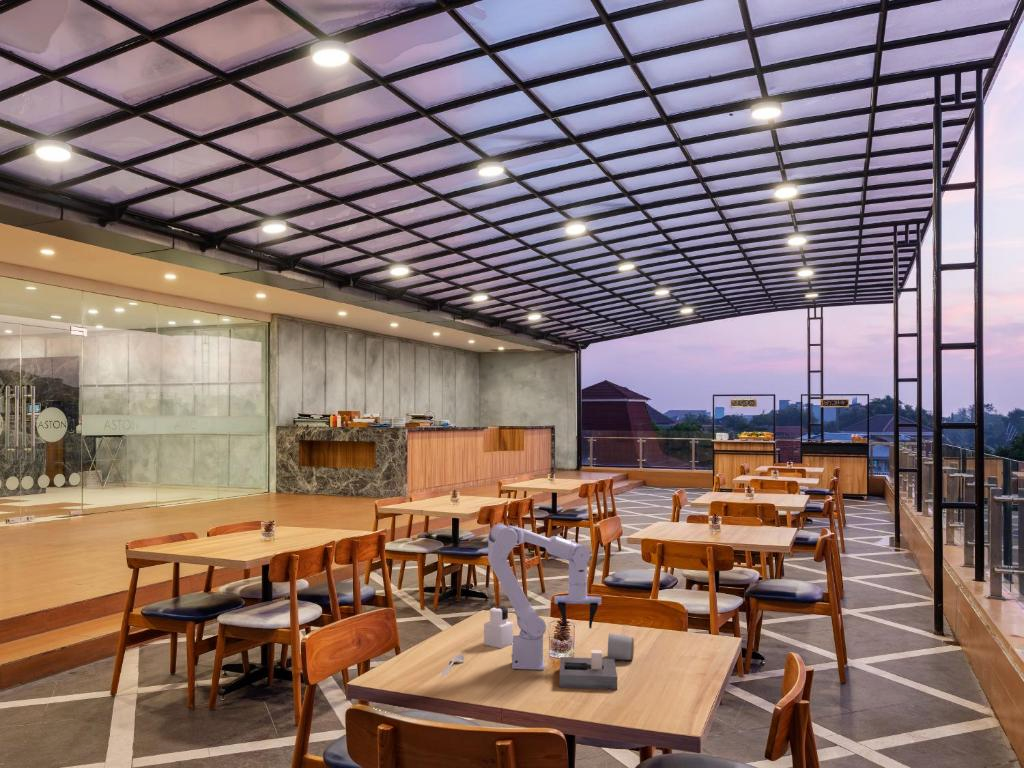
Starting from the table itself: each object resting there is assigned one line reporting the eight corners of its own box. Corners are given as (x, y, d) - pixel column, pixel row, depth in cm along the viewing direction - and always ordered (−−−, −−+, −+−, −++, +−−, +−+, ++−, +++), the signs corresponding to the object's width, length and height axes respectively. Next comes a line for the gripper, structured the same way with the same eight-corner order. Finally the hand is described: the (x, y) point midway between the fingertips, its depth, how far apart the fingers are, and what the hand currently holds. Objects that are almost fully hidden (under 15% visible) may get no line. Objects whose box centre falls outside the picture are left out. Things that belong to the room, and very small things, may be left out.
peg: (587, 682, 217) (587, 654, 217) (586, 676, 222) (586, 648, 223) (606, 683, 216) (606, 654, 217) (605, 677, 222) (605, 649, 222)
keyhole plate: (559, 687, 212) (559, 674, 212) (560, 668, 228) (560, 657, 228) (617, 689, 211) (617, 676, 211) (614, 670, 227) (614, 658, 227)
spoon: (467, 660, 237) (467, 654, 238) (444, 681, 218) (444, 675, 218) (455, 658, 238) (455, 653, 239) (431, 680, 219) (431, 674, 219)
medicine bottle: (496, 639, 258) (496, 604, 258) (513, 643, 254) (513, 607, 254) (483, 644, 252) (483, 608, 253) (500, 648, 248) (501, 611, 248)
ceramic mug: (633, 663, 234) (634, 638, 234) (607, 661, 235) (607, 636, 236) (634, 654, 244) (634, 629, 245) (608, 652, 246) (608, 628, 246)
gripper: (554, 585, 233) (554, 630, 233) (601, 586, 232) (601, 631, 232) (554, 580, 240) (554, 623, 240) (600, 581, 239) (601, 625, 239)
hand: (577, 627), depth 236 cm, fingers open, 7 cm apart
